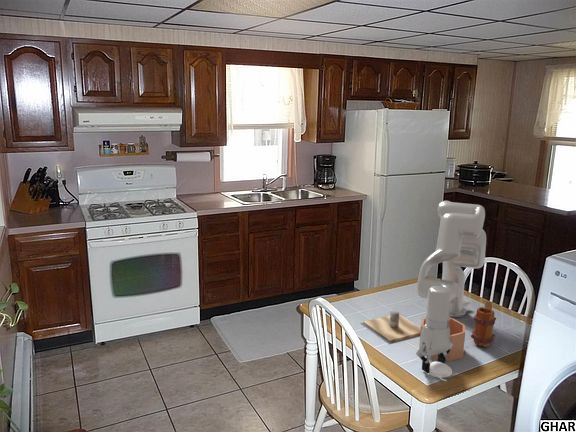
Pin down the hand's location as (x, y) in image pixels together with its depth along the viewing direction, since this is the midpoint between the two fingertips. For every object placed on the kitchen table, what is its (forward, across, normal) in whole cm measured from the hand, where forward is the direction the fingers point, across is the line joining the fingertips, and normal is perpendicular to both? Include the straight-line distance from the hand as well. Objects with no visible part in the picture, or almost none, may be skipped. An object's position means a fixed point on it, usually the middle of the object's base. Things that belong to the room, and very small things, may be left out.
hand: (433, 368), depth 164 cm
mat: (+1, -7, -31) cm, 32 cm away
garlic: (+1, 0, +3) cm, 3 cm away
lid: (0, -7, -31) cm, 32 cm away
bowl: (+1, -13, -10) cm, 16 cm away
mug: (+1, -33, -8) cm, 34 cm away
